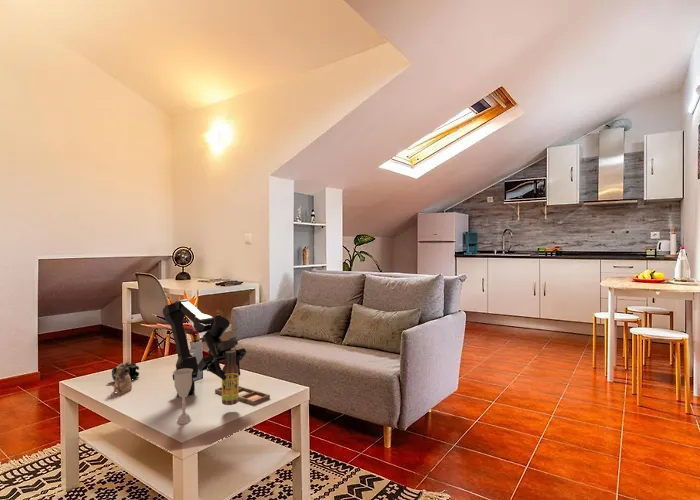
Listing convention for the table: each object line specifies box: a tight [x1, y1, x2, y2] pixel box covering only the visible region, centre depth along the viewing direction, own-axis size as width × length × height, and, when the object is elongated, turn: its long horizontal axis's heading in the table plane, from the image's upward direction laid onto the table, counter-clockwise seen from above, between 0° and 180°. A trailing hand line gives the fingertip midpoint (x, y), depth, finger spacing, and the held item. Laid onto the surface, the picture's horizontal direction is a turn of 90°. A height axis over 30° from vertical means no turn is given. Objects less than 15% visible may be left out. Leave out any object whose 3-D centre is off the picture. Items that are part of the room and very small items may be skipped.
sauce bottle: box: [221, 349, 240, 406], centre depth 161 cm, size 6×6×20 cm
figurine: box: [113, 362, 133, 394], centre depth 187 cm, size 7×7×12 cm
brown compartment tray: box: [214, 385, 271, 406], centre depth 178 cm, size 25×9×2 cm, turn 53°
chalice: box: [172, 368, 193, 425], centre depth 153 cm, size 7×7×18 cm
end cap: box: [111, 362, 140, 382], centre depth 202 cm, size 10×7×7 cm
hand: (232, 377), depth 160 cm, fingers closed on sauce bottle, 6 cm apart
